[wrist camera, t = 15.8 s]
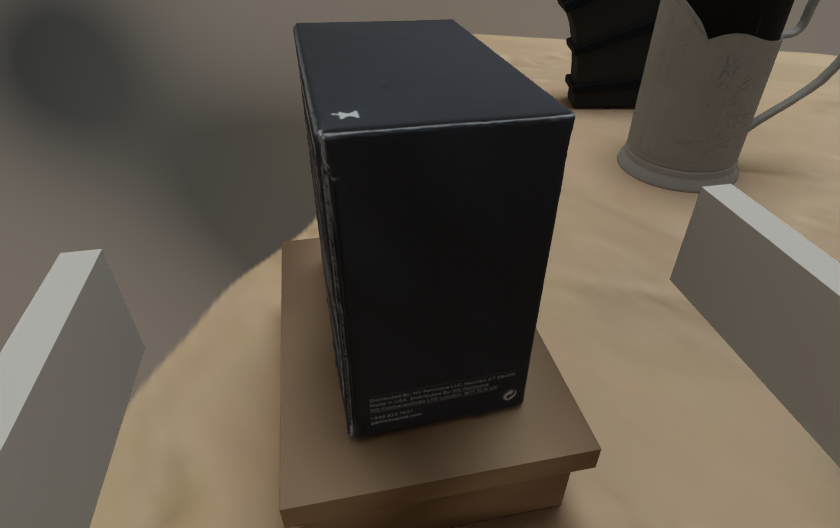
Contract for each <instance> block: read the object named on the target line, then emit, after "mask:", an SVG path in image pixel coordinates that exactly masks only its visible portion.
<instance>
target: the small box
mask: <svg viewBox="0 0 840 528" xmlns="http://www.w3.org/2000/svg"><path fill="white" fill-rule="evenodd" d="M293 32H294V38H295V45H296V51H297V57H298V68H299V75H300V81H301V89H302V97H303V104H304V114H305V122H306V129H307V139H308V146H309V153H310V162H311V173H312V179H313V187H314V197H315V204H316V205H315V206H316V213H317V221H318V230H319V237H320V245H321V257H322V263H323V272H324V278H325V286H326V294H327V303H328V307H329V313H330V322H331V328H332V335H333V347H334V351H335V357H336V361H335V365H336V367H337V369H338V377H339V381H340V388H341V392H342V397H343V404H344V409H345V415H346V421H347V431H348V434H349V436H352V437H355V438H357V437H359V438H360V437H363V436H369V437H370V436H372V435H375V434H380V433H382V432H385V431H390V430H399V429H401V428H405V427H410V426H415V425H420V424H425V423H430V422H436V421H440V420H447V419H452V418H457V417H462V416H467V415H480V414H482V413H487V412H490V411H494V410H499V409H504V408H506V407H511V406H516V405H519V404H522V403H523V401H524V393H525V387H526V381H527V376H528V370H529V364H530V357H531V352H532V346H533V341H534V334H535V329H536V323H537V318H538V312H539V306H540V301H541V295H542V290H543V284H544V278H545V273H546V267H547V262H548V257H549V251H550V246H551V241H552V235H553V230H554V224H555V219H556V213H557V207H558V202H559V197H560V192H561V186H562V180H563V174H564V167H565V161H566V157H567V150H568V146H569V141H570V136H571V132H572V129H573V125H574V120H575V114H574V113H573V112H572V111H571V110H569V109H568V108H566V107H565V106H564V105H563V104H561V103H560V102H559V101H557V100H556V99H555V98H554V97H552V96H551V95H550V94H548V93H547V92H546V91H544V90H543V89H542V88H540V87H539V86H538V85H536V84H535V83H534V82H533V81H531V80H530V79H529V78H527V77H526V76H525V75H524V74H522V73H521V72H520V71H518V70H517V69H516V68H515V67H513V66H512V65H511V64H509V63H508V62H507V61H505V60H504V59H503V58H501V57H500V56H499V55H497V54H496V53H495V52H494V51H492V50H491V49H490V48H489V47H487V46H486V45H485V44H483V43H482V42H481V41H480V40H478V39H477V38H476V37H475V36H473V35H472V34H471V33H469V32H468V31H466V30H465V29H464V28H463V27H462V26H460V25H459V24H458V23H457V22H455V21H454V20H450V19H449V20H421V21H379V22H378V21H375V22H374V21H373V22H329V23H298V24H296V25H295V26H294V29H293Z"/></svg>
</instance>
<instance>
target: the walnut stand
mask: <svg viewBox="0 0 840 528" xmlns="http://www.w3.org/2000/svg"><path fill="white" fill-rule="evenodd" d="M335 361H336V357H335V351H334V347H333V335H332V328H331V322H330V313H329V307H328V303H327V294H326V286H325V278H324V272H323V263H322V257H321V245H320V238H313V239H304V240H295V241H287V242H282V299H281V409H280V513H281V516H282V520H283V523H284V526H285V528H287V527H292V526H297V525H302V524H306V528H450V527H454V526H459V525H464V524H469V523H474V522H479V521H484V520H489V519H494V518H498V517H503V516H508V515H513V514H518V513H523V512H528V511H533V510H537V509H542V508H547V507H552V506H557V505H561V504H562V500H563V497H564V493H565V489H566V486H567V482H568V479H569V475H570V472H574V471H579V470H584V469H589V468H594V467H596V464H597V461H598V458H599V455H600V451H601V448H600V446H599V444H598V442H597V440H596V438H595V437H594V435H593V433H592V431H591V429H590V427H589V425H588V424H587V422H586V420H585V418H584V416H583V414H582V413H581V411H580V409H579V407H578V405H577V403H576V401H575V400H574V398H573V396H572V394H571V392H570V390H569V388H568V387H567V385H566V383H565V381H564V379H563V377H562V375H561V374H560V372H559V370H558V368H557V366H556V364H555V362H554V361H553V359H552V357H551V355H550V353H549V351H548V350H547V348H546V346H545V344H544V342H543V340H542V338H541V337H540V335H539V333H538V331H537V329H535V334H534V341H533V346H532V352H531V357H530V364H529V370H528V376H527V381H526V387H525V393H524V401H523V403H522V404H519V405H516V406H511V407H506V408H504V409H499V410H494V411H490V412H487V413H482V414H480V415H467V416H462V417H457V418H452V419H447V420H440V421H436V422H430V423H425V424H420V425H415V426H410V427H405V428H401V429H399V430H390V431H385V432H382V433H380V434H375V435H372V436H370V437H369V436H363V437H360V438H359V437H357V438H355V437H352V436H349V434H348V431H347V421H346V415H345V409H344V404H343V397H342V392H341V388H340V381H339V377H338V369H337V367H336V365H335Z"/></svg>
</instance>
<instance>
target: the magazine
mask: <svg viewBox="0 0 840 528" xmlns="http://www.w3.org/2000/svg"><path fill="white" fill-rule="evenodd" d="M660 1H661V0H558V4H559V5H560V6H561V7H562V8H563V9H564V11H565V12H566V14H567V17H568V20H569V25H570V34H571V37H569V38H567V39H566V41H567V45H568V47H569V48H570V49H571V51H572V65H571V74H567V75H566V78H565V81H566V83H567V85H568V87H569V90H568V98H569V100H570V102H571V104H572V105H573V107H575V108H635V106H636V102H637V98H638V93H639V89H640V85H641V81H642V77H643V72H644V68H645V64H646V60H647V56H648V51H649V47H650V43H651V39H652V35H653V30H654V26H655V22H656V18H657V14H658V9H659V5H660Z"/></svg>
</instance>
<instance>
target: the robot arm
mask: <svg viewBox="0 0 840 528" xmlns="http://www.w3.org/2000/svg"><path fill="white" fill-rule="evenodd" d="M670 280H671V281H672V282H673V284H674V285H675V286H676V287H677V288H678V289H679V290H680V291H681V292H682V294H683V295H684V296H685V297H686V298H687V299H688V300H689V301H690V302H691V304H692V305H693V306H694V307H695V308H696V309H697V310H698V311H699V312H700V313H701V315H702V316H703V317H704V318H705V319H706V320H707V321H708V322H709V323H710V325H711V326H712V327H713V328H714V329H715V330H716V331H717V332H718V333H719V334H720V336H721V337H722V338H723V339H724V340H725V341H726V342H727V343H728V344H729V346H730V347H731V348H732V349H733V350H734V351H735V352H736V353H737V354H738V355H739V357H740V358H741V359H742V360H743V361H744V362H745V363H746V364H747V365H748V367H749V368H750V369H751V370H752V371H753V372H754V373H755V374H756V375H757V377H758V378H759V379H760V380H761V381H762V382H763V383H764V384H765V385H766V386H767V388H768V389H769V390H770V391H771V392H772V393H773V394H774V395H775V396H776V398H777V399H778V400H779V401H780V402H781V403H782V404H783V405H784V406H785V407H786V409H787V410H788V411H789V412H790V413H791V414H792V415H793V416H794V417H795V419H796V420H797V421H798V422H799V423H800V424H801V425H802V426H803V427H804V429H805V430H806V431H807V432H808V433H809V434H810V435H811V436H812V437H813V438H814V440H815V441H816V442H817V443H818V444H819V445H820V446H821V447H822V448H823V450H824V451H825V452H826V453H827V454H828V455H829V456H830V457H831V458H832V459H833V461H834V462H835V463H836V464H837V465H838V466H839V467H840V263H839V262H838V261H836V260H835V259H833V258H832V257H831V256H829V255H828V254H827V253H825V252H824V251H822V250H821V249H820V248H818V247H817V246H816V245H814V244H813V243H812V242H810V241H809V240H807V239H806V238H805V237H803V236H802V235H801V234H799V233H798V232H797V231H795V230H794V229H792V228H791V227H790V226H788V225H787V224H786V223H784V222H783V221H781V220H780V219H779V218H777V217H776V216H775V215H773V214H772V213H771V212H769V211H768V210H766V209H765V208H764V207H762V206H761V205H760V204H758V203H757V202H755V201H754V200H753V199H751V198H750V197H749V196H747V195H746V194H745V193H743V192H742V191H740V190H739V189H738V188H736V187H735V186H734V185H732V184H724V185H714V186H705V187H701V190H700V193H699V196H698V199H697V202H696V205H695V208H694V211H693V213H692V216H691V219H690V222H689V225H688V228H687V231H686V234H685V237H684V239H683V242H682V245H681V248H680V251H679V254H678V257H677V260H676V263H675V266H674V268H673V271H672V274H671V277H670ZM144 350H145V346H144V344H143V341H142V339H141V337H140V335H139V332H138V330H137V328H136V325H135V323H134V321H133V318H132V316H131V314H130V312H129V309H128V307H127V305H126V303H125V300H124V298H123V296H122V293H121V291H120V289H119V287H118V284H117V282H116V280H115V278H114V275H113V273H112V271H111V268H110V266H109V264H108V262H107V259H106V257H105V255H104V253H103V250H102V249H97V250H88V251H77V252H68V253H60V255H59V256H58V258H57V260H56V262H55V263H54V265H53V267H52V268H51V270H50V271H49V273H48V275H47V276H46V278H45V279H44V281H43V283H42V284H41V286H40V288H39V289H38V291H37V293H36V294H35V296H34V298H33V299H32V301H31V303H30V304H29V306H28V308H27V309H26V311H25V313H24V314H23V316H22V318H21V319H20V321H19V323H18V324H17V326H16V328H15V329H14V331H13V333H12V334H11V336H10V338H9V339H8V341H7V342H6V344H5V346H4V347H3V349H2V351H1V352H0V528H89V527H90V524H91V521H92V517H93V514H94V511H95V508H96V504H97V501H98V498H99V495H100V492H101V488H102V485H103V482H104V479H105V475H106V472H107V469H108V466H109V463H110V459H111V456H112V453H113V450H114V446H115V443H116V440H117V437H118V434H119V430H120V427H121V424H122V421H123V417H124V414H125V411H126V408H127V405H128V401H129V398H130V395H131V391H132V388H133V385H134V382H135V379H136V375H137V372H138V369H139V366H140V363H141V359H142V356H143V353H144Z"/></svg>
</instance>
